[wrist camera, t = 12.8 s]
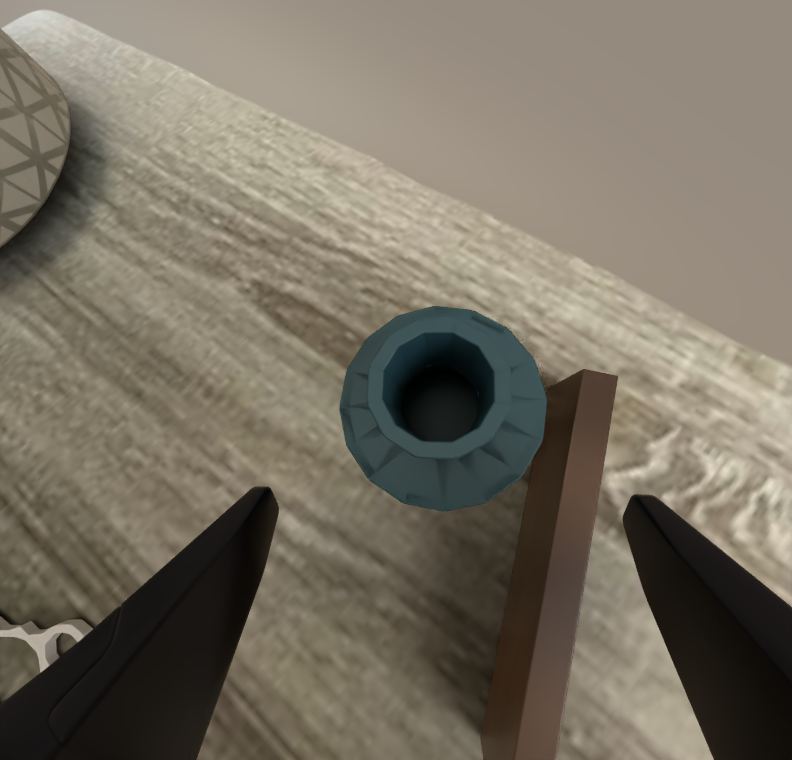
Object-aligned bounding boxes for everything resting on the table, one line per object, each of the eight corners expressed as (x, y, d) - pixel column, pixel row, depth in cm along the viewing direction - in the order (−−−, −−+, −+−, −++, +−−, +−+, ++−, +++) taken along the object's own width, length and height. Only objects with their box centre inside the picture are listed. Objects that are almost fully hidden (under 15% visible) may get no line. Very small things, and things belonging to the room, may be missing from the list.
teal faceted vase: (461, 502, 20) (494, 606, 7) (366, 439, 22) (248, 432, 9) (519, 403, 21) (646, 333, 8) (422, 349, 22) (392, 212, 9)
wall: (509, 749, 18) (537, 880, 13) (480, 738, 18) (495, 861, 13) (573, 393, 21) (618, 375, 15) (547, 388, 21) (582, 368, 16)
